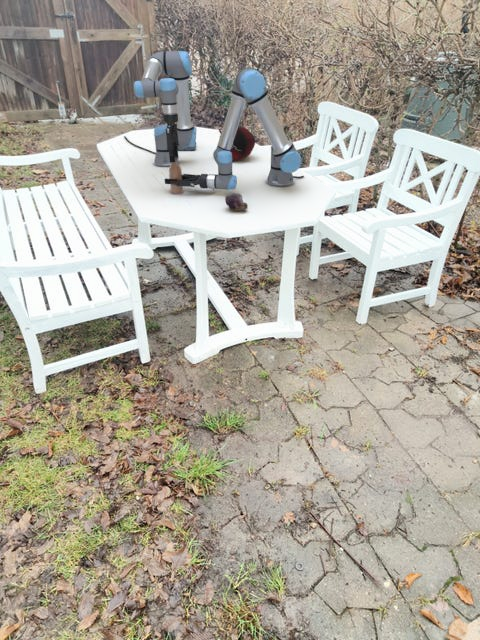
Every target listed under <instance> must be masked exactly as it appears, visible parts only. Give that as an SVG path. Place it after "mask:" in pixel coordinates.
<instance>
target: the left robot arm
mask: <svg viewBox="0 0 480 640" xmlns="http://www.w3.org/2000/svg"><path fill="white" fill-rule="evenodd" d="M192 67H193V66H192V61H191V57H190V54H189V52H188V51H186V50H185V51H184V50H161V51H157V52H155V53H153V54H151V56H149V57H148V58H147V59H146V62H145V64H144V68H145V70H144V72H143V74H142V77H141V80H136V81H134V83H133V92H134V96H135V97H136V98H142V99H143V98H146V99H147V98H161V99H160V100H161V106H160V108H161V109H162V113H163V114H162V120H163V122H164V123H166V124H162V125H158V126H156V127H155V128H154V129H153V136H154V145H155V152H154V151H152V150H150V149H148V148H144V147H141V146H140V145H137V144H135V143H133V142H131V141H130V140H129V139H128V138H127V137H126V136H125V135H124V136H123V137H124V138H125V140H126V141H127V142H128V143H129V144H131V145H132V146H134V147H136V148H139V149H141V150H144V151H147V152H150V153H151V154H153V155H154V165H155V166H157V167H163V168H164V167H165V168H167V167H168V168H169V167H170V166H171V164H172V162H175V156H177V157H178V161H177V163H178V164H179V159H180V158H179V150H178V147H193V146H195V143H196V144H197V127H196V126H195V125H194V123H193V121H192V118H191V107H190V106H191V105H190V94H189V80H190V78H191V75H192V74H193V68H192ZM160 76H169V77H166V78H165V77H164V78H160V80H158V79H159V77H160Z"/></svg>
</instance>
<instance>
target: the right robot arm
mask: <svg viewBox="0 0 480 640" xmlns="http://www.w3.org/2000/svg"><path fill="white" fill-rule="evenodd" d="M269 93H270V92H269V89H268V88H267V85H266V79H265V78H264V75H262V73H261V72H259V71H258V70H255V69H253V68H250V67H245V68H242V69H240V70H239V71H238V72H237V74H236V75H235V78H234V82H233V85H232V90H231V93H230V95H231V99H230V103H229V106H228V109H227V113H226V115H225V119H224V123H223V126H222V129H221V131H222V132H221V134H220V135H219V139H218V143H217V146H216V148H215V149H214V151H213V154H212V157H213V160H214V161H215V163H216V165H217V170H218V171H217V174H216V173H209V174H208V173H201V174H190V173H182V180H177V179H170V176H169V175H168V178H164V184H165V185H170V184H174V185H176V186H183V187H190V188H195V186H199V187H200V189H209V190H213V191H214V190H224V191H234V190H236V189H237V186H238V177H237V176H236V175H234V174H233V160H232V153H231V152H230V150H231V147H232V144H233V141H234V138H235V135H236V132H237V129H238V126H240V121H241V119H242V116H243V113H244V110H245V108H246V104H247V106H248V107H252V108H253V111H254V113H255V115H256V117H257V119H258V121H259V123H260V125H261V127H262V129H263V131H264V133H265V135H266V138H267V139H268V141H269V143H270V144H271V145H270V169H269V172H268V175H267V178H266V183H267V184H268V185H269V186H271V187H272V186H273V187H280V188H281V187H282V188H283V187H289V186H292V185H293V184H294V179H302V178H304V177H305V176H304V175H300V176H297V175H294V176H293V174H294V173H295V172H297V171H298V170H299V169H300V167H301V165H302V163H303V161H302V156H301V153H300V152H298V151H297V148H296V147H295V145H294V143H293V141H292V140H290V139H288V137H287V135H286V132H285V131H284V128H283V127H282V125H281V122H280V120H279V118H278V116H277V114H276V111H275V109H274V107H273V106H272V103H271V102H270V99H269Z"/></svg>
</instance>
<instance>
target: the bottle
mask: <svg viewBox="0 0 480 640" xmlns="http://www.w3.org/2000/svg"><path fill="white" fill-rule="evenodd" d="M182 171H183V170H182V167H181V166H180V164H179V162H178V163H177V161H176V162H172V164H171V166H169V167H168V173H169V174H168V177H169V176H170V179H177V180H182V175H183V172H182ZM169 185H170V186H169V187H170V193H172V194H174V195H178V194H182V193H184V186H176V185H174V184H169Z"/></svg>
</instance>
